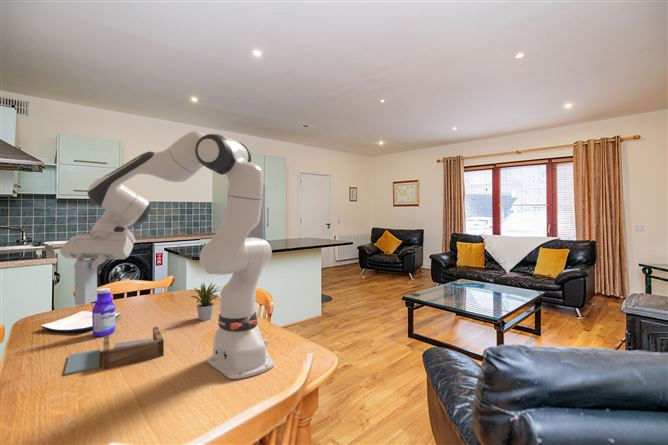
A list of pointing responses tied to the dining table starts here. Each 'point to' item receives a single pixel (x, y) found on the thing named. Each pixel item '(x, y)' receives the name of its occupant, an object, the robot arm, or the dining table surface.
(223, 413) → the dining table surface
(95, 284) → the grey rectangular block
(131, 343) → the offcut stack
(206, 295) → the house plant
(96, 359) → the slate mat
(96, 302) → the bottle
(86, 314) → the plate
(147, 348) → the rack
